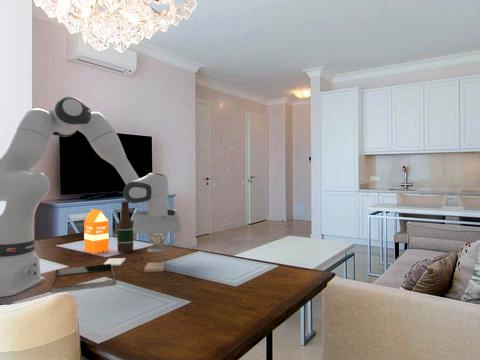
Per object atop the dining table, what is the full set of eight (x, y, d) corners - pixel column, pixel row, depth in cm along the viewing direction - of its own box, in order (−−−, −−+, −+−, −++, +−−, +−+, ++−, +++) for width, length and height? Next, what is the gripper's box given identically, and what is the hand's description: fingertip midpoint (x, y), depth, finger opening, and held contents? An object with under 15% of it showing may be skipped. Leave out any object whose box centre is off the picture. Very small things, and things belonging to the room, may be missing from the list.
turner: (162, 251, 136) (162, 239, 136) (147, 252, 135) (147, 239, 135) (165, 245, 148) (165, 234, 148) (151, 246, 147) (151, 234, 147)
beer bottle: (136, 249, 169) (136, 200, 168) (129, 252, 161) (129, 202, 160) (121, 248, 170) (120, 200, 169) (114, 252, 162) (113, 202, 161)
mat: (120, 265, 139) (120, 264, 139) (102, 266, 138) (102, 264, 138) (125, 259, 149) (125, 258, 149) (109, 259, 148) (108, 258, 148)
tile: (165, 266, 140) (163, 272, 131) (147, 266, 139) (144, 273, 130) (165, 262, 140) (163, 268, 131) (147, 262, 139) (144, 269, 130)
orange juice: (93, 253, 160) (93, 211, 159) (84, 251, 165) (83, 209, 165) (109, 250, 166) (108, 209, 166) (99, 248, 171) (98, 208, 171)
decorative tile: (115, 288, 115) (114, 270, 134) (115, 279, 115) (114, 262, 134) (48, 296, 108) (56, 276, 127) (47, 287, 108) (56, 268, 127)
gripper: (130, 212, 140) (130, 245, 140) (181, 211, 143) (181, 244, 143) (133, 210, 146) (133, 242, 147) (182, 210, 149) (182, 241, 149)
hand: (157, 243), depth 145 cm, fingers closed on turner, 3 cm apart
